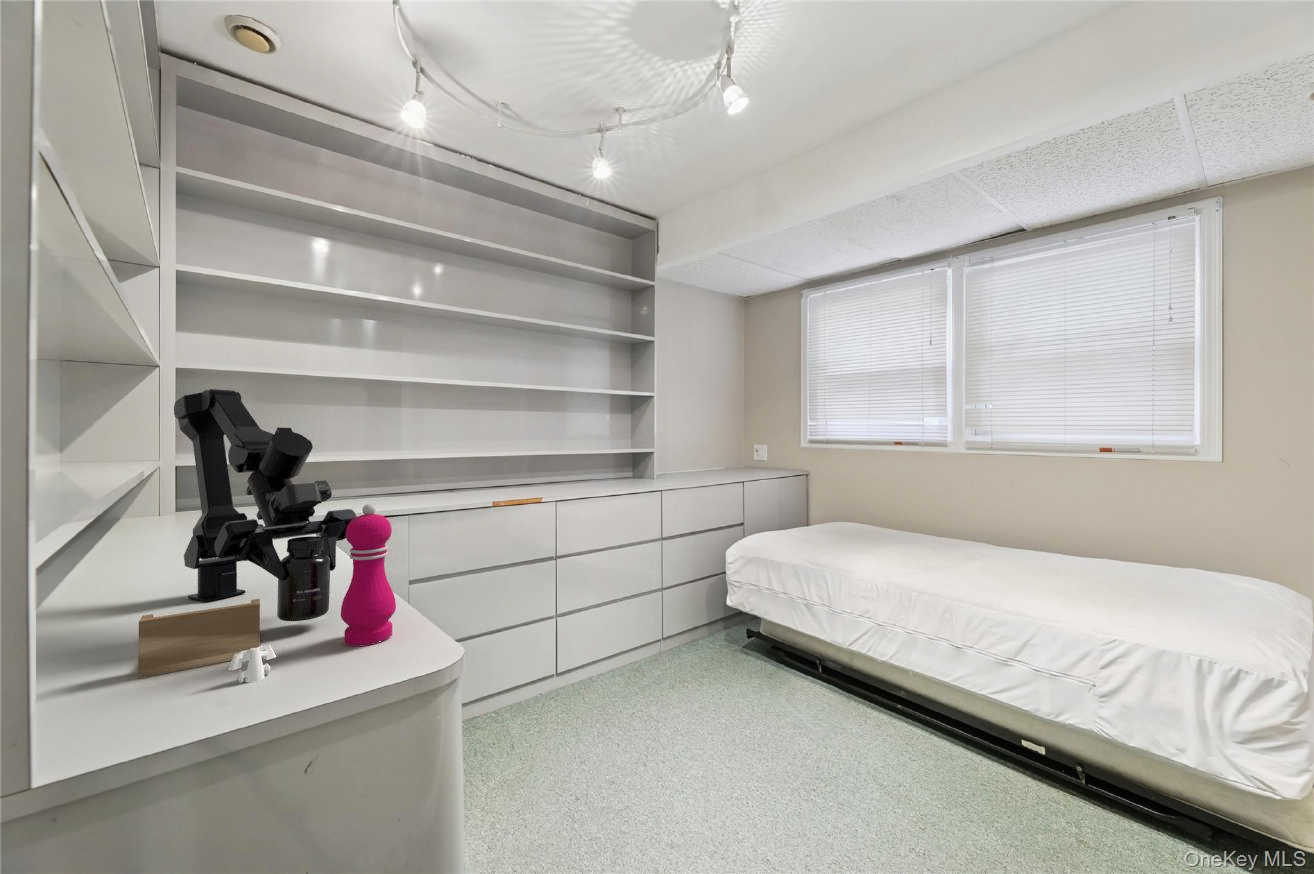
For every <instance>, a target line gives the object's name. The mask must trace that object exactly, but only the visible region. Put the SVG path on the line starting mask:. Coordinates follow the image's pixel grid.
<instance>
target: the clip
mask: <svg viewBox="0 0 1314 874" xmlns="http://www.w3.org/2000/svg"><path fill="white" fill-rule="evenodd" d="M262 657H263V660H266V661H269V660H272V659H275V658H277V655H276V653H275V652H274V649H273V648H272V645H270V644H269V645H260V647H257V648H251V649H250V650H246V651H241V652H240V653H238V654H235V655H234V657H233V659H232V660H231V662H230V664H229V666H228V669H227V671H234V670H238V669H241V668H242V665H243V664H242V663H244V662H247V661H248V664H247V669H246V670H244V671H242V670H238V673H237V674H236V675H237V676H236V680H237V681H239V683H240V684H242V683H243V682H244V677H245V682H244V683H255V682H258V681H261V680H263V679H265V675H266V676H268V675H269V674H270V671H271V666H270V664H269V663H268V662H265V663H263V660H262Z"/></svg>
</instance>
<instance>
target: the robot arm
mask: <svg viewBox="0 0 1314 874" xmlns="http://www.w3.org/2000/svg"><path fill="white" fill-rule="evenodd" d="M173 414H174V418H175V419H177V422H178V426H179V430H180V431H181V432H182V433H183V434H184V435H185V436H186V437H187V438H188V439H189V440H190V442H192V447H193V453H194V454H193V455H194V461H195V462H194V463H195V469H196V477H197V478H196V479H197V485H198V493H199V502H200V509H201V515H200V517H199V519H198V520H197V522H196V524H195V525H194V527H193V528H192V536H191V539H190V540H189V543H188V545H187V547H186V549H185V551H184V554H183V560H184V567H186V568H190V569H193V570H197V592H196V593H193V594H189V595H187V599H191V600H196V601H200V602H206V603H207V602H213V601H217V600H221V599H225V598H230V597H235V596H239V595H243V594H246V590H245V589H239V588H237V587H238V571H237V570H238V562H247V561H248V562H250V563H251V564H254V565H256V566H258V567H259V568H262V570H264V571H266V572H268V573H269V574H270V575H272V576H274V577H275V578H277V580H278V579H279V580H281V581H282V580H285V578H286V573H285V570H284V567H283V565H282V563H281V560H282V559H280V556H279V554H278V552H277V550H276V548H275V545H274V541H273V540H282V539H288V538H289V539H291V538H297V537H306V536H312V535H315V536H318V537H323V538H324V549H323V550H322V553H324V554H326V555H328V557H329V558H330V563H331V564H330V572H332V571H334V570H335V569H336V567H337V565H336V563H337V562H336V561H337V542H339V541H343V540H345V539H346V529H347V526H348V524H349V523H350V521H351V520H353V519H354V518H356V517H358V515H357V514H356V512H355V511H354V510H353V509H350V508H345V509H337V510H336V509H334V510H328V511H327V513H326V514H325V516H324V517H323V519H322V520H316V521H311V520H310V518H311V517H314V515H315V513H316V510H315V507H316V506H318V505H319V504H322V503H324V502H327V500H329V499H330V498H332V496H333V494H332V493H333V492H332V489H331V486H330V485H329V483H328V480H326V479H325V480H315V481H314V482H310V483H308V482H307V483H293V481H292V479H293V478H296V477H298V476H299V475H300V473H301V471H302V469H303V467H304V465H305V463H306V462H307V460H308V458H309V455H310V454H311V452H312V451H313V443H312V441H311V439H308V438H307V437H306V436H304V435H303V434H301V433H297V432H294V431H293V430H292V427H278V426H277V427H276V430H275V432H274V433H272V432H269V431H267V430H265V429H264V430H263V429H262V428H260V426H259V424H258V423H257V422H256V420H255V419H254V417H253V416H252V414H251V413H250V412H249V410H248V409H247V407H246V405H245V404H244V402H243V401H242V395H241V393H240V392H239V391H236V390H234V389H233V390H230V389H229V390H228V389H216V388H209V389H205V390H204V391H202V392H197V393H192V394H185V395H183V396H181V397H180V398H178V399H177V400H175V402H174V404H173ZM225 437H226V438H227V440H228V442H229V443H230V446H229V448H228V449H229V450H228V454H227V453H226V445H225ZM227 457H228V458H227ZM228 463H229V465H230V466H231V467H232V468H233V470H234V472H236V473H238V474H243V473H251V474H249V476H248V478H247V485H248V486H247V488H246V493H245V494H246V495H247V496H252V498H253V499H254V502H255V504H256V506H257V508H258V509H257V510H258V511H257V512H256V514H255V516H256V518H257V519H255V518H251V519H248V516H247V515H246V514H245V512H239V511H238V510H237V509H236V508H235V507H234V502H233V494H232V488H231V481H230V474H229V466H228ZM260 520H262V521H263V523H264V524H262V523H259V522H258V521H260Z"/></svg>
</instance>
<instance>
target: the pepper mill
mask: <svg viewBox="0 0 1314 874" xmlns="http://www.w3.org/2000/svg"><path fill="white" fill-rule="evenodd" d="M376 511H377V507H376V506H375V505H374V504H373V503H366V504H364V506H363V507H362V513H363V514H361V515H357V517H356V518H354V519H353V520H351V521H350V523H349V524H348V526H347V529H346V538H345V539H346V541H347V542H348V544H350V546H351V548H350V550H349V552H350V555H349V559H351V560H352V567H353V569H352V575H351V576H352V577H351V581H350V584H349V586H348V588H347V591H346V593H345V595H344V598H343V600H342V604H341V606H340V618H341V620H342V621H343V623H345V624H346V625H347V627H346V629H344V631H343V632H344V636H343V637H344V641H343V642H344V643H345V644H346V645H347V646H350V645H352V646H351V647H361V646H360V645H366V646H371V645H370V644H373V643H377V642H379V641H383V640H385V641H387V640H388V639H387V638H389V637H390V636H391V637H392V636H393V623H392V621H391V620H390V619H391V618H392V616H393V615H394V614H395V612H396V608H397V603H396V602H397V601H396V597H395V594H394V591H393V590H392V589H393V588H391V585H390V583H389V581H388V579H387V575H386V568H385V559H386V556H388V554H389V552H388V548H389V546H387V545H386V543H387V541H389V539H390V538H391V536H392V525H391V523H390V520H389V519H388V518H387V517H385V516H383V515H381V514H377V513H376ZM391 637H390V638H391ZM390 638H389V639H390ZM386 639H387V640H386ZM383 642H384V641H383ZM377 644H378V643H377ZM373 645H374V644H373Z"/></svg>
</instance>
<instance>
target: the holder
mask: <svg viewBox="0 0 1314 874" xmlns="http://www.w3.org/2000/svg"><path fill="white" fill-rule="evenodd" d="M260 601H261V600H260V598H254V599H250V602H248V603H242V604H235V605H229V606H228V605H227V606H221V607H214V608H207V609H201V610H192V611H187V612H181V613H174V614H167V615H166V614H165V615H161V616H160V615H159V616H154V614H153V613H151V614H144V615H141V617H140V619H139V620H138V647H137V648H138V659H137V662H138V665H137V666H138V672H137V673H138V674H137V676H138V679H144V678H149V677H154V676H159V675H163V674H169V673H175V672H180V671H183V670H185V671H186V670H190V669H195V668H200V667H205V666H210V665H211V666H212V665H215V664H221V663H225V662H230V661H232V659H233V657H234V655H235V654H238V653H240V652H241V651H246V650H250V649H251V648H257V647H260V646H261V645H260V643H261V641H260V639H261V632H260V631H261V625H260V624H261V603H260Z"/></svg>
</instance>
